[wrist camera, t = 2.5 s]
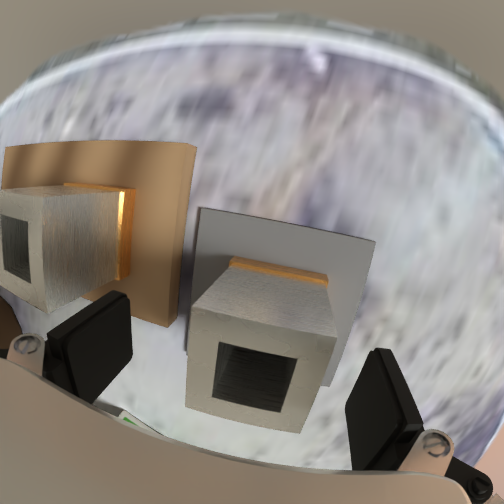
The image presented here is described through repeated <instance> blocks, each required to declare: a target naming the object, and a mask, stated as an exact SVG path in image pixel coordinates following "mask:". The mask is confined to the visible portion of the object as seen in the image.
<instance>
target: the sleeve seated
mask: <svg viewBox="0 0 504 504" xmlns="http://www.w3.org/2000/svg"><path fill="white" fill-rule="evenodd" d="M135 196H136V189H132V188H124V187H115V186H106V185H97V184H87V183H77V182H71V183H64V185H58V186H40V187H26V188H14V189H3V190H0V285H1V286H2V287H4V288H5V289H7V290H8V291H10V292H11V293H13V294H15V295H16V296H18V297H19V298H21V299H23V300H24V301H26V302H28V303H29V304H31V305H33V306H35V307H36V308H38V309H40V310H42V311H43V312H45V313H47V314H49V313H51V312H53V311H54V310H56V309H58V308H60V307H62V306H64V305H66V304H68V303H69V302H71V301H73V300H75V299H77V298H79V297H81V296H83V295H85V294H87V293H88V292H90V291H92V290H94V289H96V288H98V287H100V286H102V285H104V284H106V283H108V282H110V281H112V280H114V279H116V280H119V281H120V280H122V279H124V278H125V277H127V276H129V275H130V261H131V242H132V227H133V216H134V205H135Z"/></svg>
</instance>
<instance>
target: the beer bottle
mask: <svg viewBox="0 0 504 504" xmlns="http://www.w3.org/2000/svg"><path fill="white" fill-rule="evenodd" d="M19 335H22V329H21V327H20V325H19V323H18V321H17V318H16V316H15V314H14V312H13V310H12V307H11V306H10V305H9V304H8V303H7V302H6V301H5V300H4V299H3V298H2V297H1V296H0V349H9V348H10V344H11V342H12V340H13V339H14V338H16V337H17V336H19Z"/></svg>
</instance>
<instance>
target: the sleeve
mask: <svg viewBox="0 0 504 504" xmlns="http://www.w3.org/2000/svg"><path fill="white" fill-rule="evenodd" d="M328 282H329V280H328V277H327V275H326V274H321V273H316V272H311V271H306V270H301V269H296V268H291V267H286V266H282V265H277V264H272V263H267V262H262V261H257V260H252V259H247V258H242V257H238V256H234V257H233V258H232V259H231V260H230V261H229V268H228V269H227V270H226V271H225V272H224V273H223V274H222V275H221V276H220V277H219V278H218V279H217V280H216V281H215V282H214V283H213V284H212V285H211V286H210V287H209V288H208V290H207V291H206V292H205V293H204V294H203V295H202V296H201V297H200V298H199V299H198V300H197V301H196V302H195V303H194V304H193V305H192V308H191V320H190V332H189V346H188V361H187V378H186V400H185V407H188V408H191V409H194V410H197V411H200V412H204V413H207V414H211V415H214V416H218V417H221V418H225V419H229V420H233V421H237V422H241V423H246V424H250V425H255V426H259V427H264V428H269V429H275V430H280V431H286V432H292V433H299V434H300V432H301V430H302V428H303V425H304V423H305V421H306V419H307V416H308V414H309V412H310V409H311V407H312V405H313V402H314V400H315V397H316V395H317V393H318V390H319V388H320V385H321V382H322V380H323V377H324V375H325V372H326V369H327V367H328V364H329V361H330V358H331V356H332V353H333V350H334V347H335V344H336V341H337V338H338V337H337V332H336V327H335V323H334V318H333V314H332V309H331V305H330V301H329V297H328V292H327V286H328Z"/></svg>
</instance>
